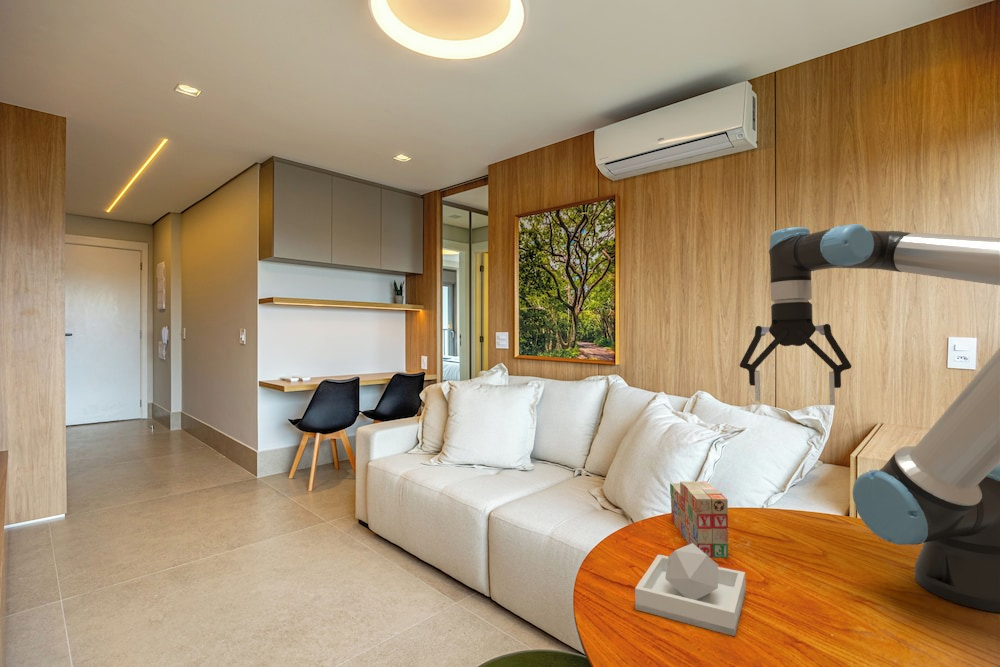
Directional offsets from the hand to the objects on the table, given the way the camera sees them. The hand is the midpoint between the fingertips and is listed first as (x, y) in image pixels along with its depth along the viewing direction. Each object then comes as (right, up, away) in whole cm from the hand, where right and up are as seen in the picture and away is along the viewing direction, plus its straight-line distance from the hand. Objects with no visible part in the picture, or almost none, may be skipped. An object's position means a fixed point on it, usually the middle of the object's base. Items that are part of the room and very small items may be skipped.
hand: (793, 402), depth 106 cm
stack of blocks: (-18, -32, +6) cm, 37 cm away
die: (-29, -30, -20) cm, 47 cm away
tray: (-30, -31, -21) cm, 48 cm away
